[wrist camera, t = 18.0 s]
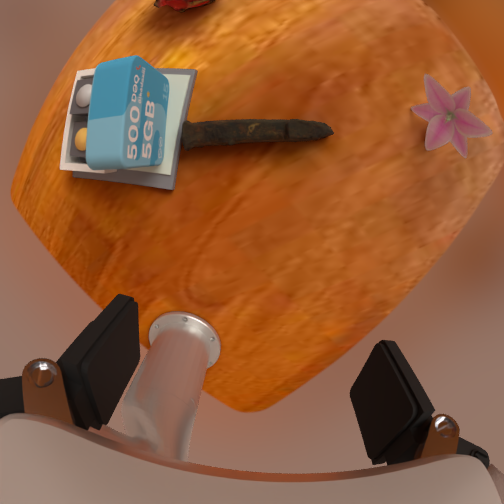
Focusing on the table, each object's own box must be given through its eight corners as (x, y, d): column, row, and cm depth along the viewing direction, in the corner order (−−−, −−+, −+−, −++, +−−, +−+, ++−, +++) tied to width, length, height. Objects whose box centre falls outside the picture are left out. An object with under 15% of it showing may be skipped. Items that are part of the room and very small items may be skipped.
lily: (406, 71, 29) (416, 71, 22) (471, 85, 24) (494, 90, 18) (407, 140, 36) (415, 158, 29) (468, 152, 32) (487, 172, 25)
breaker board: (174, 189, 36) (163, 193, 31) (76, 176, 35) (59, 179, 31) (197, 71, 30) (189, 61, 26) (93, 74, 29) (78, 67, 25)
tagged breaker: (106, 157, 33) (94, 157, 29) (81, 155, 32) (68, 156, 29) (112, 123, 31) (100, 121, 28) (85, 123, 31) (73, 121, 28)
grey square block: (108, 115, 29) (95, 112, 26) (81, 116, 29) (68, 114, 26) (115, 81, 28) (103, 76, 24) (88, 84, 27) (75, 79, 24)
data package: (164, 165, 33) (121, 169, 22) (134, 165, 33) (84, 171, 22) (171, 80, 29) (133, 50, 18) (140, 83, 29) (95, 59, 18)
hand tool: (187, 151, 34) (177, 150, 30) (188, 122, 33) (178, 118, 28) (328, 154, 34) (338, 153, 29) (329, 125, 32) (339, 121, 28)
